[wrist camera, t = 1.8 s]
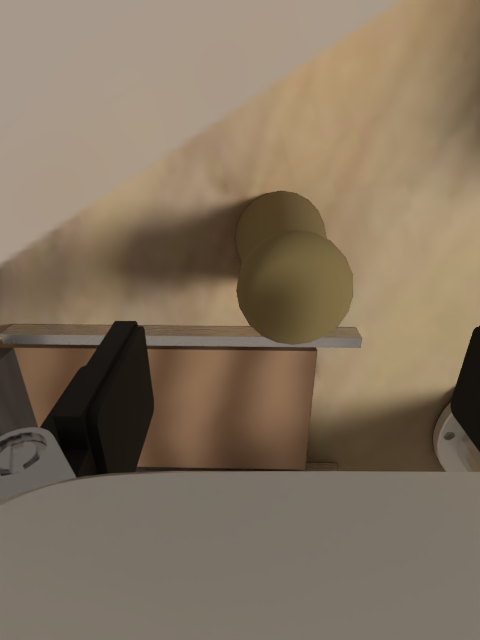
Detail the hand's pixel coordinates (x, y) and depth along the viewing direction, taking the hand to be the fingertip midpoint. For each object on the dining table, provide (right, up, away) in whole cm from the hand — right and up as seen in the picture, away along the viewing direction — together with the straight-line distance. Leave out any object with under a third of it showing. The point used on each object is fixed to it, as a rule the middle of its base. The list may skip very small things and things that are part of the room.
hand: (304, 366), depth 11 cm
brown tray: (-8, -6, +21) cm, 23 cm away
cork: (+1, +7, +15) cm, 16 cm away
